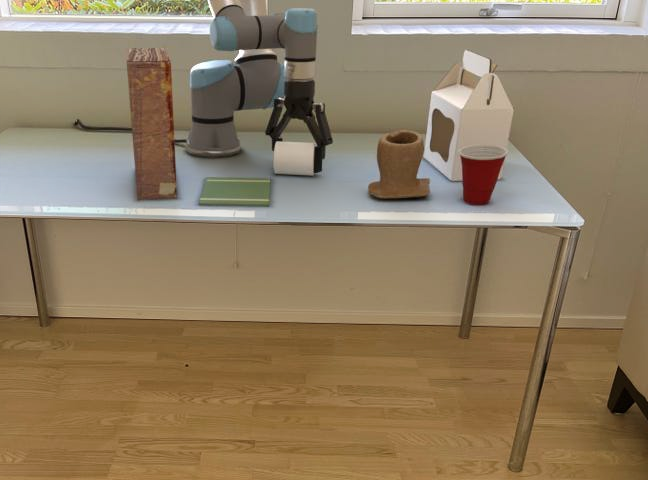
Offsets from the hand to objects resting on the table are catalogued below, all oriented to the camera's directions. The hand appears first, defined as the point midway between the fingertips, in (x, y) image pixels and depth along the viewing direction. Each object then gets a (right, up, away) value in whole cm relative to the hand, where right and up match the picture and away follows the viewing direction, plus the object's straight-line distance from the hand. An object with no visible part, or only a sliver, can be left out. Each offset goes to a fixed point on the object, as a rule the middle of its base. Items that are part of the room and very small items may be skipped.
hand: (297, 168), depth 187 cm
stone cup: (+23, -11, -16) cm, 30 cm away
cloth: (-15, -9, -14) cm, 23 cm away
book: (-35, -6, -8) cm, 37 cm away
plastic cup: (+40, -13, -18) cm, 46 cm away
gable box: (+43, +1, +5) cm, 44 cm away
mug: (-1, -1, +1) cm, 1 cm away
